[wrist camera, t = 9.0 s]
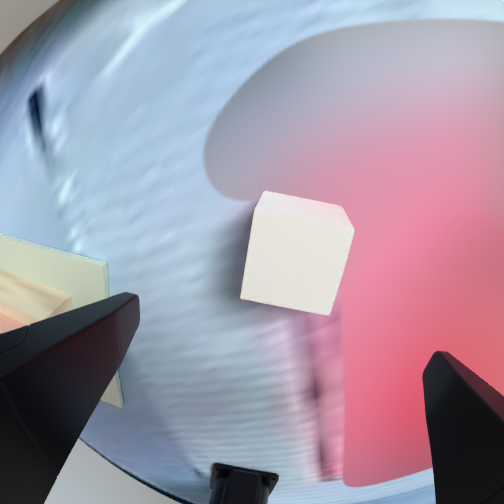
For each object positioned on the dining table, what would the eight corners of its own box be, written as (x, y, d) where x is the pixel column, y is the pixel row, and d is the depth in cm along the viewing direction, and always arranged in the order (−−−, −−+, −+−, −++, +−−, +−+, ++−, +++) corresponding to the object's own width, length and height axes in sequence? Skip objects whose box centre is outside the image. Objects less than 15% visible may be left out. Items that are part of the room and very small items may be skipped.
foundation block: (86, 374, 23) (66, 401, 19) (22, 344, 23) (1, 365, 20) (71, 295, 20) (42, 321, 16) (3, 270, 20) (-25, 288, 17)
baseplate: (124, 403, 24) (121, 408, 24) (14, 353, 25) (11, 356, 24) (107, 262, 19) (102, 266, 18) (-16, 227, 20) (-21, 230, 19)
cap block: (323, 275, 17) (329, 315, 14) (252, 261, 18) (240, 298, 14) (341, 206, 16) (354, 230, 12) (264, 190, 16) (254, 209, 12)
